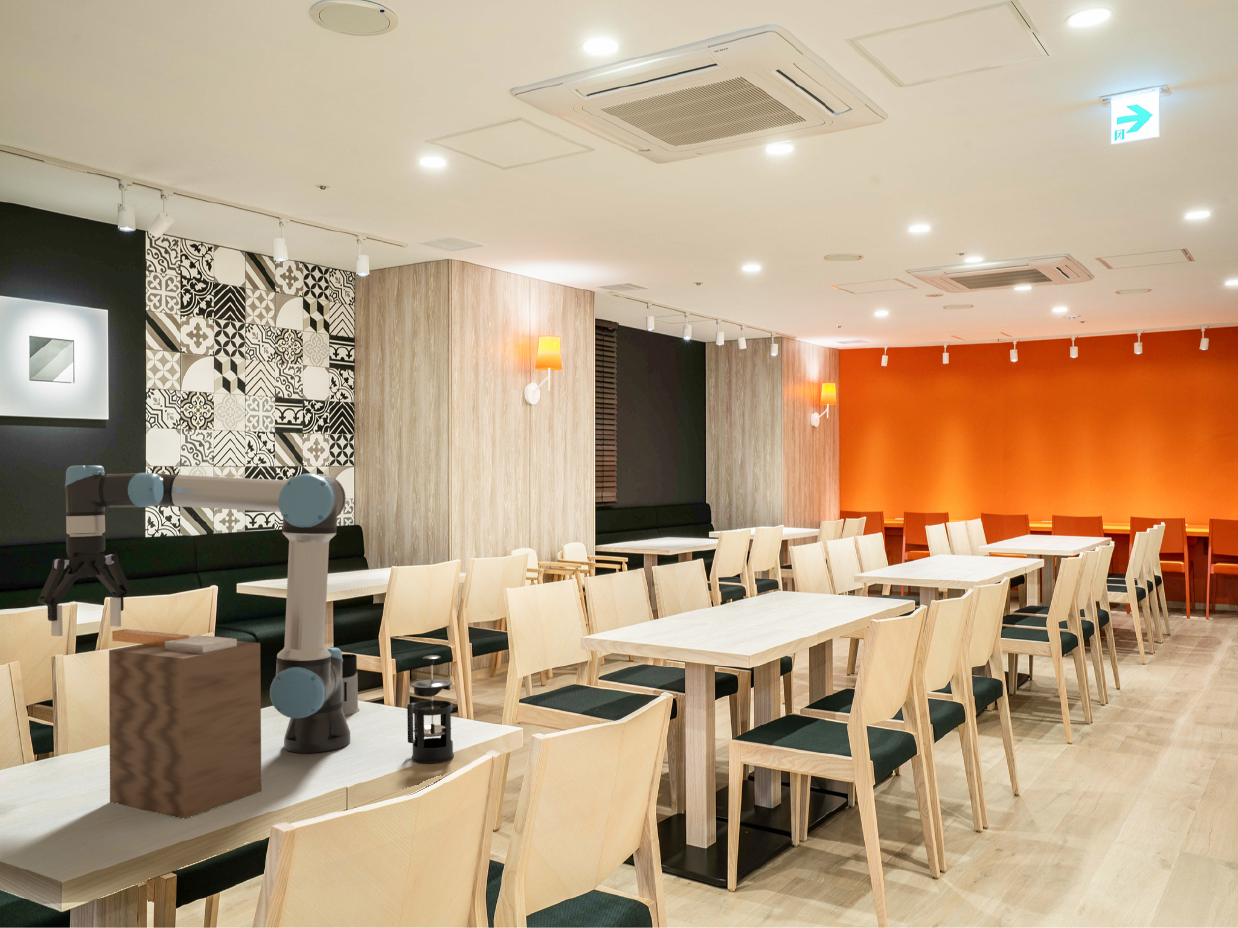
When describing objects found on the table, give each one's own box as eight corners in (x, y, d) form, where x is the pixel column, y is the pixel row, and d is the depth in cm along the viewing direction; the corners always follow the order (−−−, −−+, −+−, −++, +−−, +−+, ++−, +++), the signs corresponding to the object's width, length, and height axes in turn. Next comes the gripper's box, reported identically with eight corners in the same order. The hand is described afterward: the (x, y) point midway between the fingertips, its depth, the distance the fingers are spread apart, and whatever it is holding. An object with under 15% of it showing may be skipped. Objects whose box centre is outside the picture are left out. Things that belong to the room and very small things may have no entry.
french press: (464, 754, 218) (463, 653, 218) (439, 766, 209) (438, 661, 209) (422, 749, 223) (421, 650, 223) (396, 760, 214) (395, 657, 214)
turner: (101, 642, 198) (101, 632, 198) (136, 636, 205) (136, 627, 205) (202, 653, 184) (202, 643, 184) (236, 646, 191) (236, 636, 191)
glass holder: (362, 707, 265) (362, 653, 265) (350, 720, 251) (349, 663, 251) (331, 707, 264) (330, 653, 265) (316, 720, 250) (315, 663, 250)
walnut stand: (109, 801, 188) (109, 649, 189) (188, 776, 204) (187, 636, 205) (184, 819, 178) (183, 658, 179) (261, 790, 194) (260, 643, 195)
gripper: (126, 531, 224) (127, 621, 224) (18, 538, 202) (19, 638, 202) (147, 531, 221) (148, 623, 220) (39, 538, 198) (41, 640, 198)
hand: (87, 630), depth 211 cm, fingers open, 13 cm apart
